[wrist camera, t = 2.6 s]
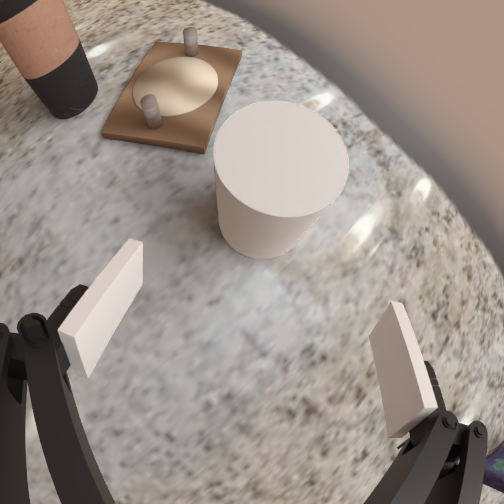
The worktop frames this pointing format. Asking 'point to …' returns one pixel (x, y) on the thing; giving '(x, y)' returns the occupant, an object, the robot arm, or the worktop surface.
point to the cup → (275, 175)
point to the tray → (174, 95)
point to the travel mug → (48, 54)
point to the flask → (495, 469)
